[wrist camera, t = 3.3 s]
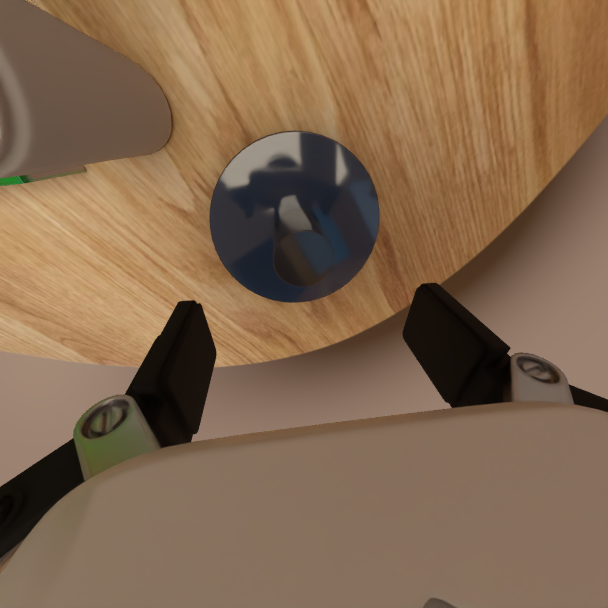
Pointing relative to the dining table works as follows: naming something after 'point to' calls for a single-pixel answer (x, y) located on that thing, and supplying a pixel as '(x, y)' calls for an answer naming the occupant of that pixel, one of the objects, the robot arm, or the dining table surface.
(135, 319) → the dining table surface
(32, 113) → the beverage can
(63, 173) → the flat green box
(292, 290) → the lid
